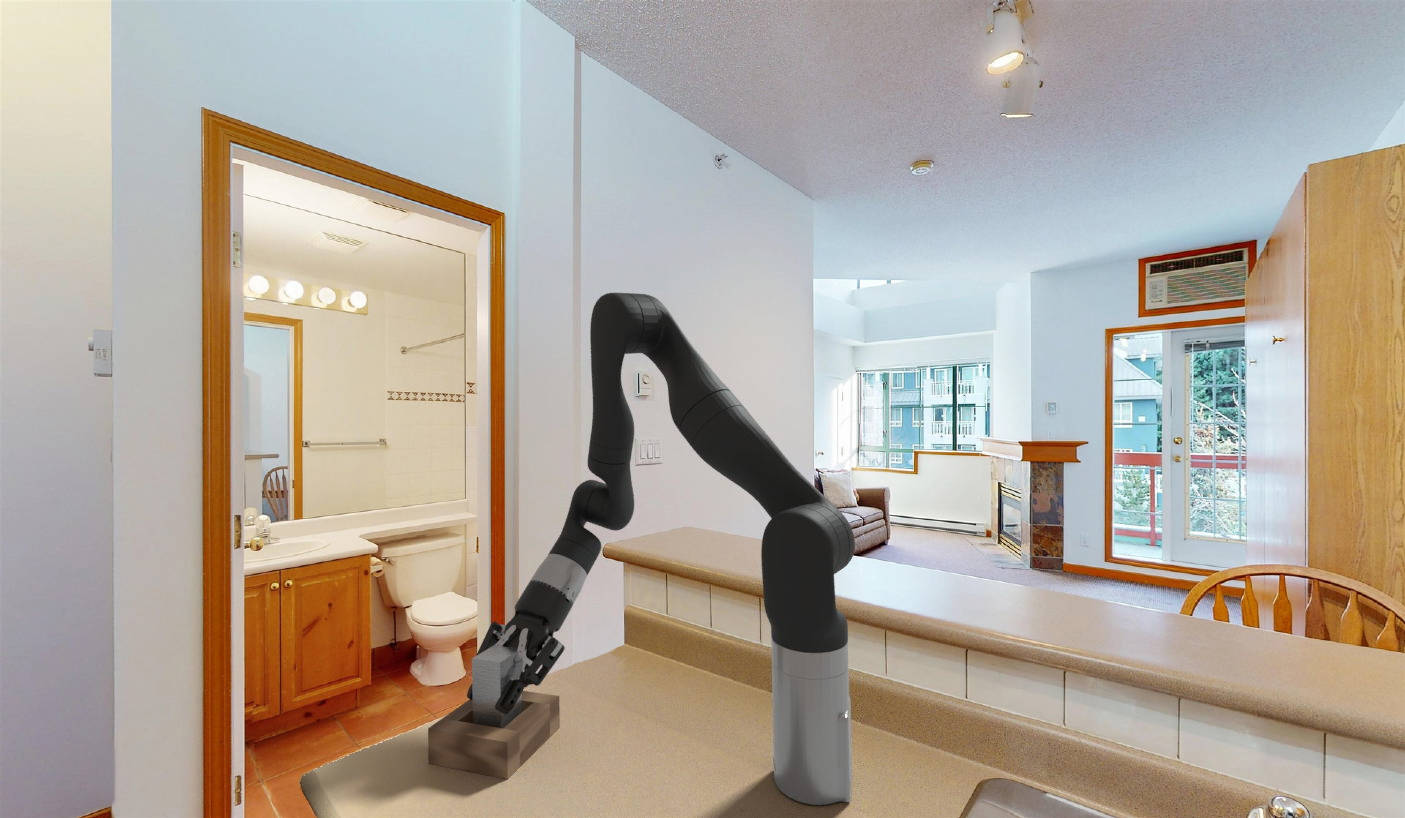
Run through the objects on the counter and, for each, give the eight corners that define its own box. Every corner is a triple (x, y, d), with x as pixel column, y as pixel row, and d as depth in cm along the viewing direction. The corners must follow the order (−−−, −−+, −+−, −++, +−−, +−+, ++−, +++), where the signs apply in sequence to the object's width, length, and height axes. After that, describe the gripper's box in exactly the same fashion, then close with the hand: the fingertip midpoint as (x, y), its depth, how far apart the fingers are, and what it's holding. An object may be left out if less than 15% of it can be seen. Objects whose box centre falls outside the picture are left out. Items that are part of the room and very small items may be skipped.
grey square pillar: (522, 727, 78) (521, 648, 78) (501, 746, 74) (500, 662, 74) (495, 723, 79) (494, 645, 80) (473, 740, 75) (471, 658, 75)
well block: (559, 727, 80) (559, 695, 81) (507, 779, 69) (507, 742, 69) (489, 715, 84) (488, 685, 84) (428, 763, 72) (428, 728, 73)
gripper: (506, 572, 87) (435, 681, 77) (573, 585, 79) (504, 708, 69) (533, 597, 91) (470, 703, 81) (599, 611, 84) (538, 731, 73)
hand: (486, 705), depth 75 cm, fingers closed on grey square pillar, 5 cm apart
